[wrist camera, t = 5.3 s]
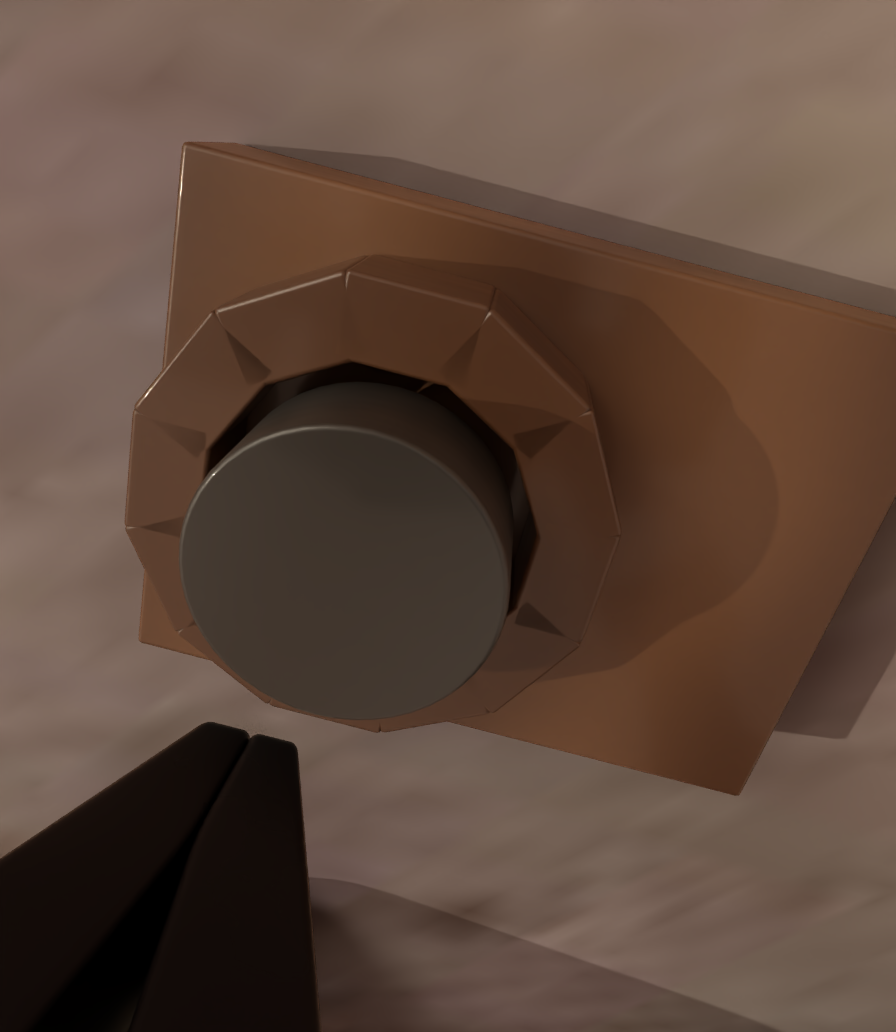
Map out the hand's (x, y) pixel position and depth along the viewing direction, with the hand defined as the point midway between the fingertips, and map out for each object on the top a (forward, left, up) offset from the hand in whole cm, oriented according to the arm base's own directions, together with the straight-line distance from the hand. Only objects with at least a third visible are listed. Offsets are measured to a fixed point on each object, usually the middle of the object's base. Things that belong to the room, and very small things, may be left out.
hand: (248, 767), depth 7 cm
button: (0, 0, -6) cm, 6 cm away
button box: (-2, 0, -9) cm, 9 cm away
